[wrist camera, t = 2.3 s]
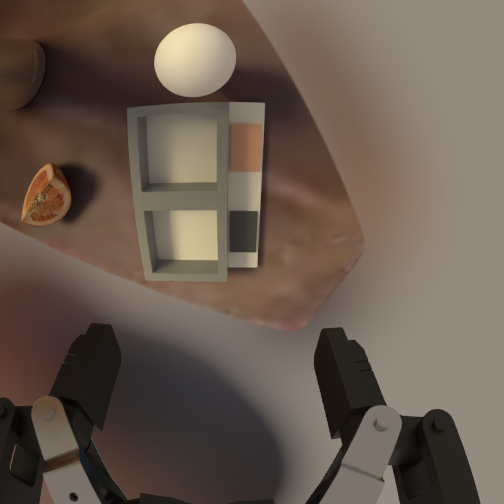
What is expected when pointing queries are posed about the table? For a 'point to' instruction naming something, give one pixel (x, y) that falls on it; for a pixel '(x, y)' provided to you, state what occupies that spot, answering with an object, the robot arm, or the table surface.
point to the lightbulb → (195, 60)
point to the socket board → (193, 164)
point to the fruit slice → (46, 197)
